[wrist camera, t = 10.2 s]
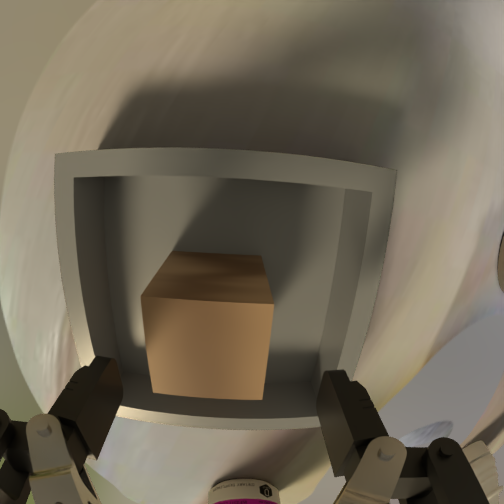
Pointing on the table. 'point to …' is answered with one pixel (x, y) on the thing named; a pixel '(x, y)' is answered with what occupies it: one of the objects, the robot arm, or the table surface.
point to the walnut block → (208, 325)
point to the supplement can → (243, 492)
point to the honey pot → (484, 469)
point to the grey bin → (224, 242)
